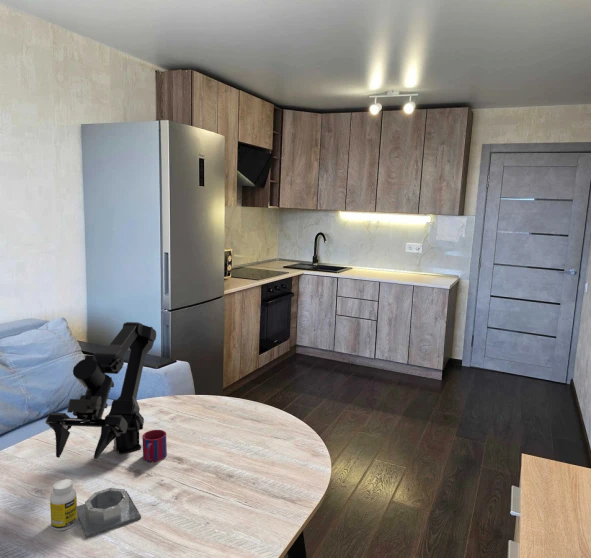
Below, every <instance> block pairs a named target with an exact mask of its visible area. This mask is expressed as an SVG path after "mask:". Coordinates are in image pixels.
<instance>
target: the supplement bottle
mask: <svg viewBox="0 0 591 558" xmlns="http://www.w3.org/2000/svg"><path fill="white" fill-rule="evenodd" d="M73 483H74V482H73V480H71V479H69V478H68V479H67V478H65V479H61V480H58V481H56V482H55V483H54V484H53V486H52V493H51V495H50V498H49V508H50V525H51V528H52V529H53V530H54V531H65V530H68V529H70V528H72V527H74V525H76V523H77V521H78V515H77V506H78V505H77V504H78V503H77V501H78V500H77V491H76V489H74V488H73V486H74V485H73Z"/></svg>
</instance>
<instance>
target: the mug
mask: <svg viewBox="0 0 591 558" xmlns="http://www.w3.org/2000/svg"><path fill="white" fill-rule="evenodd" d="M141 439H142V458H143V460H144V462H147V463H156V462H157V463H158V462H160V461H163V460H164V459H165V458H166V457H167V456H168V455H167V454H168V451H167V444H168V443H167V432H166V431H165V430H163V429H162V430H161V429H151V430H148V431H146V432H144V433H143V434H142V438H141Z"/></svg>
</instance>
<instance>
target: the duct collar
mask: <svg viewBox="0 0 591 558" xmlns="http://www.w3.org/2000/svg"><path fill="white" fill-rule="evenodd" d="M77 519H78V521H79V523H80V525H81V528H82V531H83V533H84V537H85V539H88V538H91V537H94V536H97V535H99V534H103V533H104V532H107V531H110V530H113V529H116V528H118V527H119V528H120V527H122V526H125V525H126V524H130V523H133V522H136V521H138V520H141V519H142V515H141V513H140V511H139V510H138V508H137V506H136V505H135V503H134V501H133V500H132V498H131V496H130V494H129V492H128V490H125V489H124V488H116V487H109V488H105V489H103V490H98V491H96V492H94V493H93V494H92V495H90V496H89V497H88V498H87V499H86V501H85V502H84V503H83V504H81V505H77Z"/></svg>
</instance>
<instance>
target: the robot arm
mask: <svg viewBox="0 0 591 558" xmlns="http://www.w3.org/2000/svg"><path fill="white" fill-rule="evenodd" d="M156 339H157V331H156V330H155V329H154V327H153V326H148V325H145V324H143V323H141V322H139V321H138V322H136V321H127V322H124V323H123V324H122V328H121V329H120V331H119V332H118V333H117V335H116V336H115V337H114V339H112V341H111V342H110V343H109V345H107V346H105V347H101V348H100V349H99V350H98V351H96V352H95V353H94V354H93V355H92V354H91V355H89V354H88V355H87V354H86V356H85V358H84V359H82V360H80V361H78V362H77V363H76V365H74V367H73V369H72V375H73V376H74V378H75V379H76V380H77V381H78V382H79V383H80V384H81V385H82V387H84V388H85V391H84V392H85V393H84V394H82V395H81V396H80V398H79V399H78V398H77V399H75V398H69V400H68V404H67V405H68V407H67V410H66V412H67V413H71V414H72V415H73V416H75V417H70V416H69V415H68V414H67V413H66V412H51V413H49V414H47V415H48V416H47V417H46V420H45V422H44V423H45V424H46V425H47V426H49V428H51V429H52V430H53V431H54V435H55V456H56V458H60V457H61V455H62V454H63V452H64V449H65V446H66V444H67V442H68V439H69V437H70V434H71V432H70V431H69V430H71V429H72V427H88V428H89V427H90V428H92V427H93V428H100V430H101V431H100V436H99V439H98V442H97V443H96V444H97V445H96V448H95V450H94V454H93V459H94V460H97V459H98V458H99V457H100V456H101V454H102V453H103V452H104V451H105V449H106V448H107V447H108V446H109V444H111V442H113V447H114V449H115V450H116V451H117V452H118V454H119V455H122V454H126V453H129V452H133V451H137V450H140V449H142V445H141V444H140V431H141V430H143V429H144V423H145V418H144V416H142V414H141V413H140V406H139V403H138V400H137V398H138V392H139V387H140V383H141V377H142V373H143V369H144V366H145V359H146V356H147V354H148V352H150V351H151V349H153V346H154V342H155V341H156ZM128 350H129V355H128V361H127V364H126V369H125V374H124V378H123V382H122V387H121V392H120V395H119V396H118V398H116V399H113V401H112V402H111V406H110V411H109V412H108V414H107V415H106V416H105V417H104V418H103V415H104V412H105V409H107V408H108V407H109V406H108V405H109V404H108V403H107V402H108V399H109V394H110V392H111V388H114V387H115V382H114V380H113V377H111V376H110V375H117V374H119V373H120V371H121V370H123V368H124V367H123V366H124V364H125V360H124V356H125V354H126V353H127V351H128Z"/></svg>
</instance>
